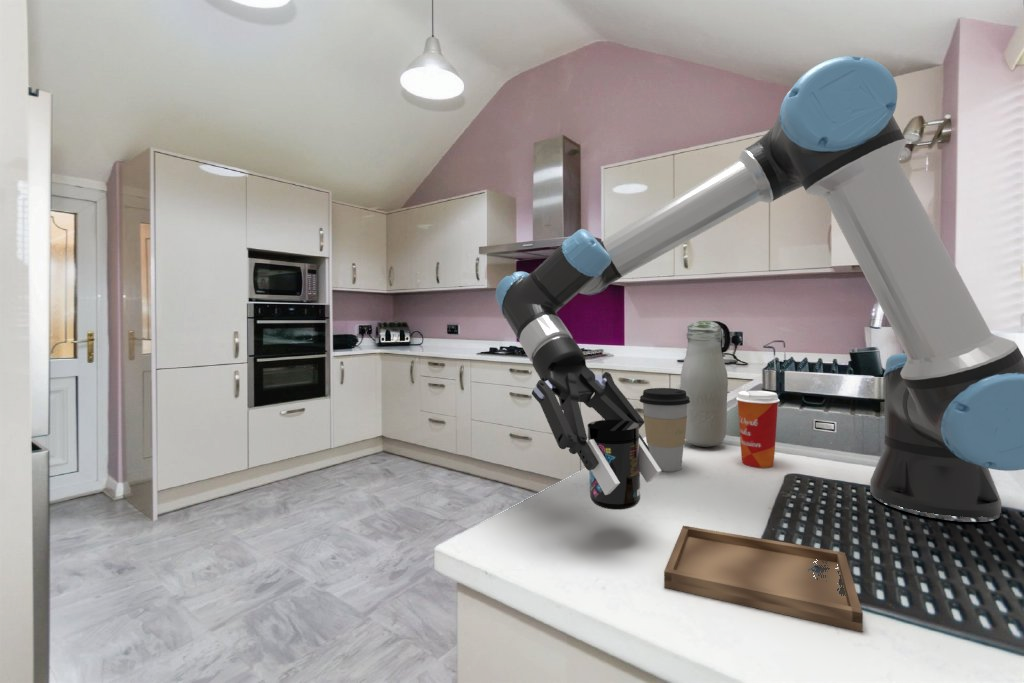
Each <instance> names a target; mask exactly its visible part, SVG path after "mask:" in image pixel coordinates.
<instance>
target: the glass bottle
mask: <svg viewBox="0 0 1024 683" xmlns="http://www.w3.org/2000/svg"><path fill="white" fill-rule="evenodd" d="M721 327H722V326H721V325H719V324H718V323H717V322H715V321H713V320H712V321H711V320H709V321H708V320H700V321H695V322H692V323H690V324H689V325H688V326H687V331H686V332H687V333H686V339H687V346H686V352H685V357H684V360H683V363H682V366H681V372H680V389H681V390H684V391H686V396H688V397H689V398H690V399H689V400H690V403H688V404H687V414H686V415H687V423H686V434H685V441H687V443H689V444H691V445H694V446H696V447H699V448H700V447H702V448H708V447H709V448H710V447H716V446H718V445H720V444H721V443H722V442H724V440H725V438H726V435H727V424H728V417H727V416H728V407H727V406H728V389H729V388H728V386H729V385H728V384H729V382H728V381H729V379H728V372H727V368H726V364H725V360H724V356H723V352H722V343H721V341H722V338H723V337H722V336H723V335H722V330H721V329H722V328H721Z"/></svg>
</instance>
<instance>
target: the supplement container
mask: <svg viewBox="0 0 1024 683" xmlns="http://www.w3.org/2000/svg"><path fill="white" fill-rule="evenodd" d="M639 430H640V428H639V425H638V424H637V423H635V422H631V421H626V420H605V419H601V420H600V419H599V420H595V421H591V422H589V423H587V439H588V440H587V442H588V441H589V440H591V439H594V441H595V442H596V444H597V445H598V447H599V449H600V450H601V452H602V454H603V455H604V457H605V459H606V460H607V462H608V464H609V465H610V467H611V469H612V470H613V472H614V474H615V475H616V477H617V479H618V480H619V482H620V484H619V485H618V486H617V487H616V488H615V489H614V490H613V491H612V492H611V493H610V494H608V495H605V494H604V492H603V490H602V489H601V487H600V485H599V483H598V482H597V480H596V478H595V476H594V475H593V473H592V471H591V470H589V471H588V473H589V476H588V477H589V497H590V500H591V501H592V503H593V504H594V505H596V507H600V508H602V509H607V510H613V511H614V510H615V511H616V510H628V509H631V508H633V507H636V506H637V505H638V504H639V502H640V500H641V476H640V474H641V473H640V465H639V434H640V431H639Z"/></svg>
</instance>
